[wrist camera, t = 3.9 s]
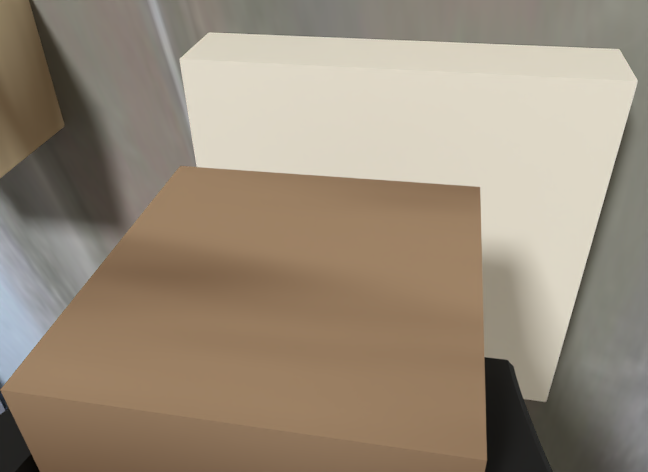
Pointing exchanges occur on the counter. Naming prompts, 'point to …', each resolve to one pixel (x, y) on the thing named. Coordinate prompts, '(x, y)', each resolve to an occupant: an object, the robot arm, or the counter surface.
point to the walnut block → (271, 334)
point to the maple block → (23, 87)
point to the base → (437, 148)
